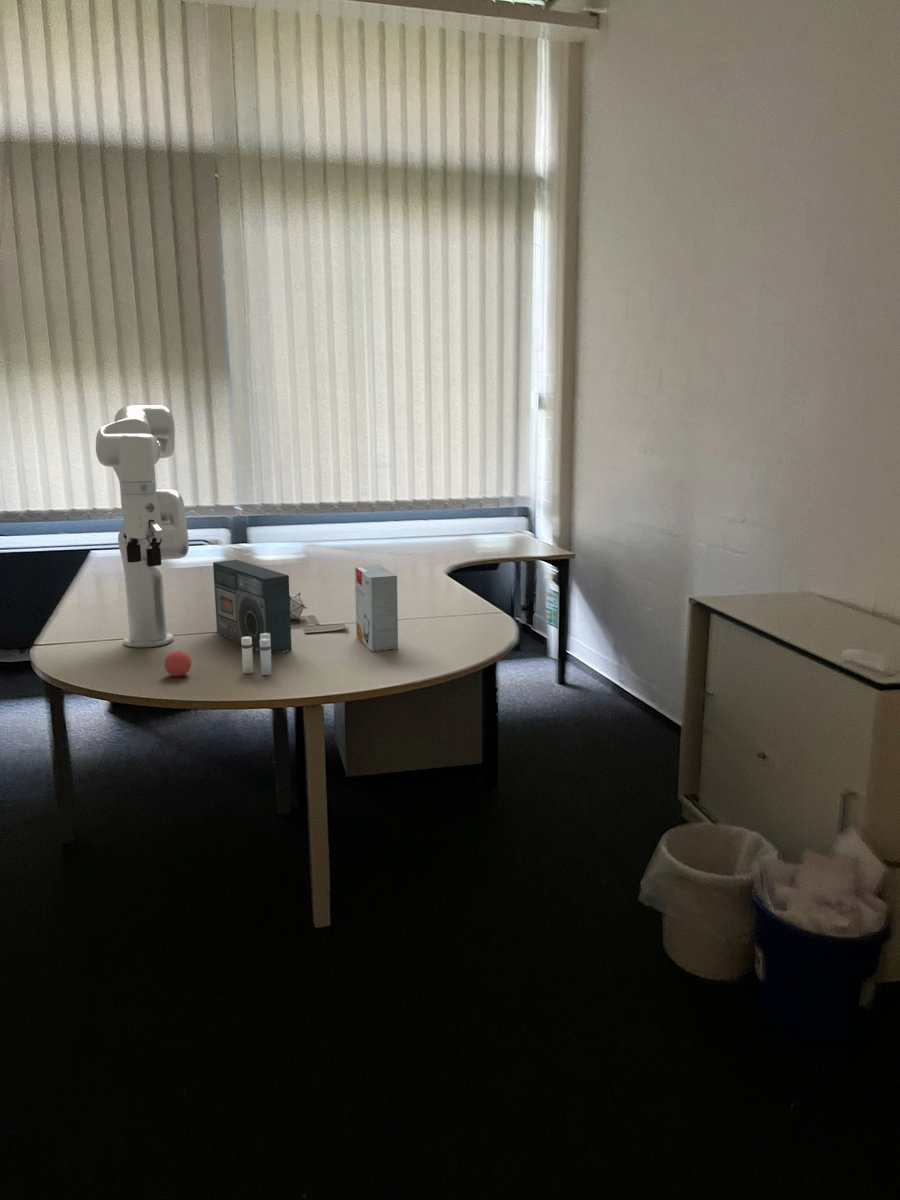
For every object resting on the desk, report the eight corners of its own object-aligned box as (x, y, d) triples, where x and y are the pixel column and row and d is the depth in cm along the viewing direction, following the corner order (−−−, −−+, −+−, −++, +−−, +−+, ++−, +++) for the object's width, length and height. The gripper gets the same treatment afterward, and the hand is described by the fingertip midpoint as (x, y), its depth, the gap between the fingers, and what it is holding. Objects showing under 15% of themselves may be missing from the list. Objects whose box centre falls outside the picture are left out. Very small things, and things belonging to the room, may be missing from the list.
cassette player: (217, 632, 249) (213, 562, 245) (239, 628, 253) (236, 559, 249) (267, 655, 227) (264, 578, 223) (291, 650, 232) (288, 575, 227)
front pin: (241, 671, 214) (239, 637, 212) (251, 669, 215) (249, 635, 213) (244, 674, 211) (243, 639, 210) (254, 672, 213) (253, 638, 211)
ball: (162, 674, 211) (160, 650, 210) (187, 670, 214) (186, 646, 213) (169, 681, 206) (167, 656, 205) (195, 677, 209) (193, 652, 208)
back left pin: (259, 667, 217) (258, 633, 215) (269, 665, 218) (268, 632, 216) (263, 670, 215) (262, 636, 213) (273, 668, 216) (271, 634, 214)
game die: (297, 630, 265) (314, 602, 267) (293, 627, 257) (311, 598, 258) (271, 615, 266) (289, 586, 267) (266, 611, 257) (285, 582, 259)
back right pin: (259, 673, 212) (257, 639, 210) (269, 672, 213) (267, 637, 211) (263, 676, 210) (261, 641, 208) (273, 674, 211) (271, 640, 209)
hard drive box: (355, 637, 244) (354, 566, 240) (382, 634, 247) (381, 564, 242) (370, 652, 230) (369, 576, 226) (399, 649, 233) (398, 574, 228)
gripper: (172, 490, 200) (177, 565, 203) (136, 487, 212) (142, 558, 215) (140, 491, 194) (146, 569, 198) (106, 489, 206) (112, 562, 210)
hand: (144, 563), depth 206 cm, fingers open, 9 cm apart
